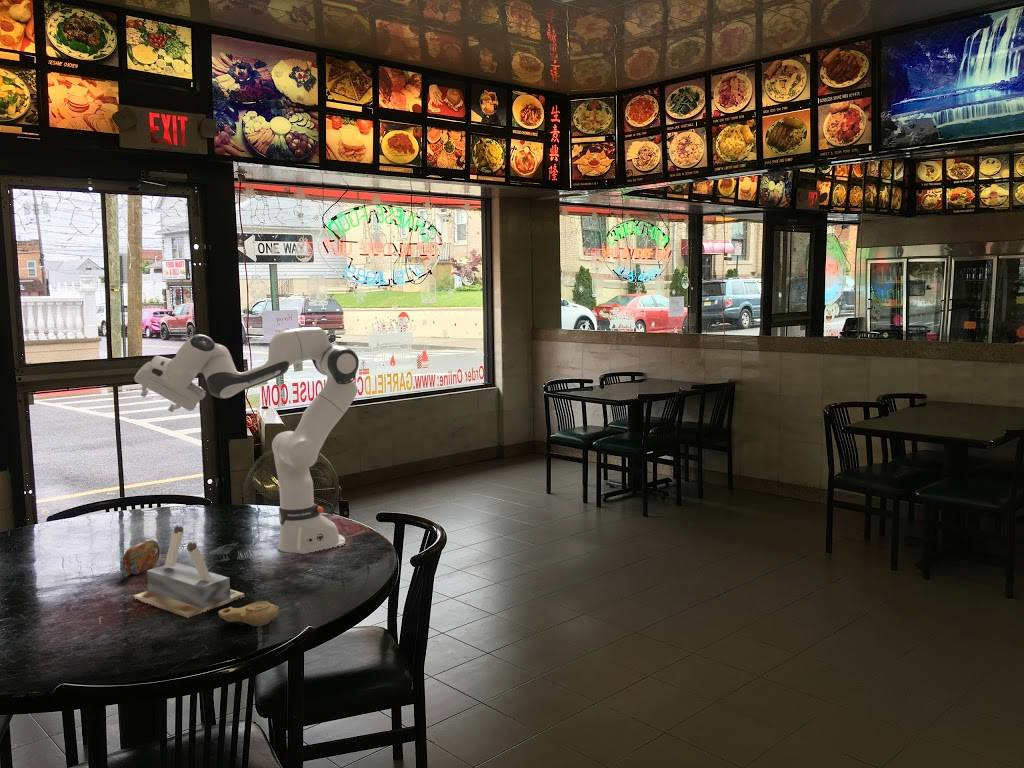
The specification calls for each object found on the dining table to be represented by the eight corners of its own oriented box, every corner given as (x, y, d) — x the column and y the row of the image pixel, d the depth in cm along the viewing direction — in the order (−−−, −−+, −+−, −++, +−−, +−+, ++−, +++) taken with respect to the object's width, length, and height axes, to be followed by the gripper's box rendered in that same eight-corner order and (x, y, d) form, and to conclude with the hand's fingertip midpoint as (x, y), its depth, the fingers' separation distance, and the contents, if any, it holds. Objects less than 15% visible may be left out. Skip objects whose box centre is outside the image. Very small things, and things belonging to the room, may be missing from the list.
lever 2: (206, 573, 232) (190, 539, 228) (212, 575, 231) (197, 541, 226) (198, 579, 231) (183, 544, 226) (205, 581, 229) (189, 546, 224)
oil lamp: (217, 623, 218) (216, 605, 218) (271, 611, 226) (270, 593, 225) (227, 637, 209) (226, 618, 209) (283, 624, 217) (282, 605, 216)
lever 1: (170, 565, 243) (180, 525, 245) (176, 566, 242) (186, 526, 244) (162, 564, 241) (172, 524, 243) (168, 566, 240) (178, 525, 242)
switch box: (190, 579, 252) (188, 557, 251) (244, 596, 237) (242, 573, 236) (133, 598, 237) (132, 575, 236) (187, 617, 222) (186, 592, 221)
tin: (131, 578, 255) (129, 551, 254) (122, 577, 255) (120, 551, 254) (161, 562, 269) (159, 537, 268) (152, 561, 270) (150, 536, 269)
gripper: (210, 386, 266) (189, 412, 272) (151, 352, 257) (130, 380, 263) (205, 397, 261) (184, 424, 266) (145, 364, 252) (123, 392, 258)
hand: (156, 402), depth 265 cm, fingers open, 8 cm apart
